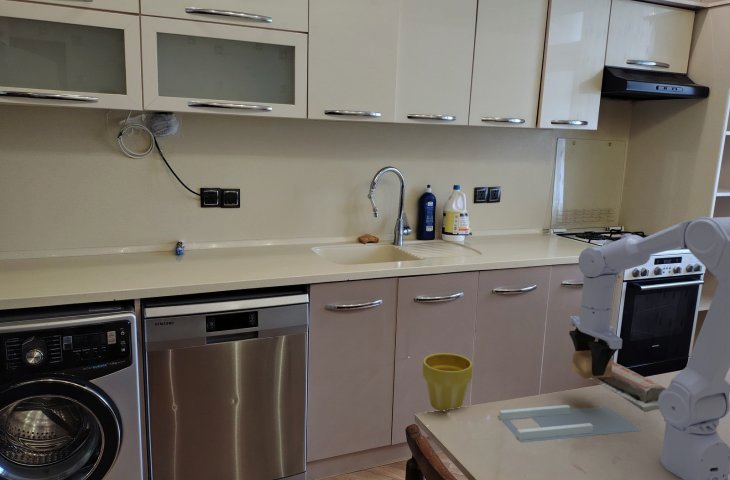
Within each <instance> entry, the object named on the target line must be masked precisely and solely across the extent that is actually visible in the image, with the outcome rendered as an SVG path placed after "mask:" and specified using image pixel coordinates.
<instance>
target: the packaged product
mask: <svg viewBox="0 0 730 480" xmlns="http://www.w3.org/2000/svg"><path fill="white" fill-rule="evenodd" d="M588 379H589V380H592V381H594V383H596V384H598V385H600V386H602V387H604V388H606V389H607V390H610V391H611V392H613V393H615V394H617V395H619V396H620V397H622V398H623V399H625V400H626V401H628V402H630V403H631V404H632V405H633V406H635V407H636V408H638V409H640V410H641V411H643V412H648V411H653V410H659V406H658V398H659V395H660V393H661V392H662V391H663V390H665V389H666V388H667V387H664V386H663V385H661V384H659V383H657V382H655V381H653V380H650V379H649V378H647V377H645V376H643V375H641V374H639V373H637V372H635V371H633V370H631V369H629V368H627V367H625V366H623V365H621V364H618V363H617V362H615V361H613V362H612V372H611V377H599V378H594V379H595V380H594V379H593V378H588ZM596 380H597V381H596Z"/></svg>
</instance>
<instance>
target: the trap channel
mask: <svg viewBox="0 0 730 480" xmlns="http://www.w3.org/2000/svg"><path fill="white" fill-rule="evenodd" d="M497 417H498V418H499V419H500V421H501V422H502V423H503V424H504V425H505V426H506V427H507V428H508V429H509V430H510V431H511V433H512V434H513V435H514V436H515V437H516V438H517V439H518V440H519V442H520V443H531V442H538V441H539V442H540V441H549V440H561V439H569V438H578V437H579V438H581V437H591V436H592V437H593V436H603V435H612V434H622V433H631V432H632V433H633V432H641V431H642V429H640V428H638V427H637V426H636V425H635V424H634V423H631V422H630V421H629V420H628V419H626V417H623V416H622V415H621V414H620V413H618V412H617V411H615V410H614V409H613V408H611V407H610V406H609V405H606V406H595V407H583V408H571V406H570V405H569V404H562V405H550V406H549V405H548V406H537V407H527V408H525V407H524V408H515V409H504V410H503V409H500V410H499V415H497ZM528 418H529V419H530V418H531V419H532V420H533V421H535V423H537V425H538V426H539V427H533V428H524V429H523V428H522V429H521V428H520V429H518V428H517V427H516V426H515V425H514V423H512V421H511V420H517V419H519V420H522V419H528Z"/></svg>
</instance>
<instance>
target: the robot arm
mask: <svg viewBox="0 0 730 480" xmlns="http://www.w3.org/2000/svg"><path fill="white" fill-rule="evenodd" d="M678 248H681V249H682V250H689V252H690V253H691V254H692V255H693V256H694V257H695V258H696V259H697V260H698V261H699V262H700V264H702V265H703V266H704V267H705V268H706V269H707V270H708V271H709V272H710V273H711V274H712V275H713V276H714V277H715V279H716V280H717V282H718V285H717V287H716V289H715V292H714V294H713V297H712V300H711V302H710V305H709V306H708V307H709V308H708V310H707V313H706V315H705V318H704V321H703V323H702V325H701V327H700V331H699V333H698V336H697V338H696V340H695V343H694V345H693V349H692V351H691V353H690V356H689V359H688V361H687V364H686V366H685V368H683V369H682V370H680V371H679V372H678V373H677V374H676V375H675V376H674V377H673V378H671V380H670V383H669V385H668V386H667V387H665V388H666V389H665V390H663V391H662V392H661V393H660V395H659V398H658V406H659V409H658V410H659V412H660V415H662V418H663V422H665V427H664V428H665V429H664V434H663V435H664V436H663V442H662V443H663V444H662V451H661V460H660V462H661V465H662V466H663V467H664V469H666V470H667V471H669V472H670V473H672V474H673V475H675V476H677V477H679V478H681V480H729V475H730V446H729V445H728V444H727V443H726V442H725V441H724V440H723V439H722V438H721V437H720V436H719V434H718V431H717V427H719V425H720V424H719V423H720V420H721V419H723V418H725V417H726V416H727V415H728V414H729V411H730V382H729V381H728V380H727V379H726V377H727V374H728V372H729V370H730V216H724V217H723V216H720V217H719V216H718V217H708V216H700V217H698V218H697V217H696V218H695V219H691V220H684V221H682V222H679V223H677V224H675V225H672V226H670V227H668V228H667V227H666V228H665V229H662V230H660V231H657V232H655V233H652V234H650V235H648V236H645V237H642V236H640V235H637V234H632V233H625V234H621V235H620V239H618V240H615V241H612V242H611V241H606V242H605V241H604V242H602V246H600V247H594V246H593V247H592V246H591V247H590V246H589V247H586V248H585V249H583V250H582V251H581V252H580V254H579V257H578V268H579V270H580V272H581V273H582V274H583V281H582V282H583V283H582V293H581V305H580V306H581V307H580V315H573V316H572V315H570V316H569V321H568V323H569V324H568V325H569V326H571V327H575V329H574V330H569V333H568V334H569V336H570V338H571V341H572V343H573V347H574V351H587V350H591V355H592V373H593V375H594V376H602V375H604V372H605V370H606V367H607V365H608V363H609V361H610V359H611V357H612V358H613V356H614V355H615V353H616V352H617V351H618V350H620V349H622V347H623V339H622V338H621V337H620V336H619V335H617V334H616V333H615V332H614V330H615V327H614V326H612V325H611V322H612V312H613V301H614V293H615V292H614V291H615V284H616V283H618V278H619V277H618V276H619V274H621V272H622V271H623V272H624V271H626V270H630V269H632V268H636V267H640V266H643V265H645V264H647V263H648V262H649V260H650V259H651V255H656V254H659V253H663V252H667V251H671V250H674V249H678ZM596 339H597V341H596Z"/></svg>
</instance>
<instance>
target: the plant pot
mask: <svg viewBox="0 0 730 480" xmlns="http://www.w3.org/2000/svg"><path fill="white" fill-rule="evenodd" d="M473 366H474V365H473V363H472V360H470V359H469V358H468V357H466V356H463V355H460V354H458V353H457V354H456V353H448V352H438V353H432V354H429V355H427V356H426V357H424V359H423V360H422V377H423V379H424V380H425V381H426V386H427V393H428V395H429V396H428V397H429V402H430V405H431V407H432V408H433V409H435V410H437V411H438V412H444V413H450V411H449V410H452V409H458V408H460V407H462V405H464V400H465V396H466V393H467V388H468V386H469V385H468V384H470V383H471V381H472V379H473ZM443 410H445V411H443Z"/></svg>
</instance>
